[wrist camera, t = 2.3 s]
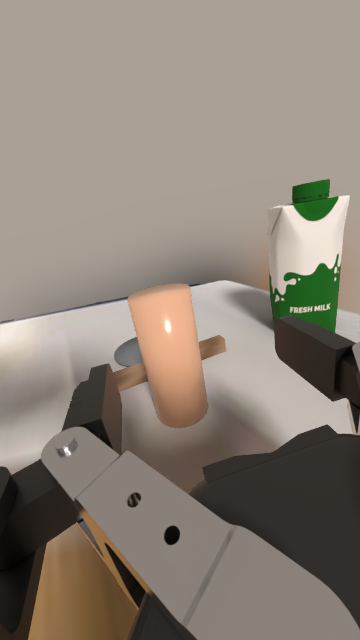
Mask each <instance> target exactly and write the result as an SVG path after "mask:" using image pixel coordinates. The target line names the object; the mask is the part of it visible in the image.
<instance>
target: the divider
mask: <svg viewBox="0 0 360 640" xmlns="http://www.w3.org/2000/svg"><path fill="white" fill-rule="evenodd" d="M199 349H200V355H201V360H203V359H206V358H208V357H211V356H214V355H216V354H219V353H222V352H224V351H226V347H225V339H224V338H223V337H221V336H220V335H218V336H215V337H212V338H209V339H207V340H204V341H201V342H199ZM113 375H114V378H115V381H116V384H117V387H118V390H119V391H121V390H124V389H127V388H129V387H132V386H135V385H137V384H140V383H142V382H145V381H148V378H147V374H146V370H145V366H144V362H141V363H139V364H136V365H133V366H130V367H127V368H125V369H122V370H119V371H116V372H113Z"/></svg>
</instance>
